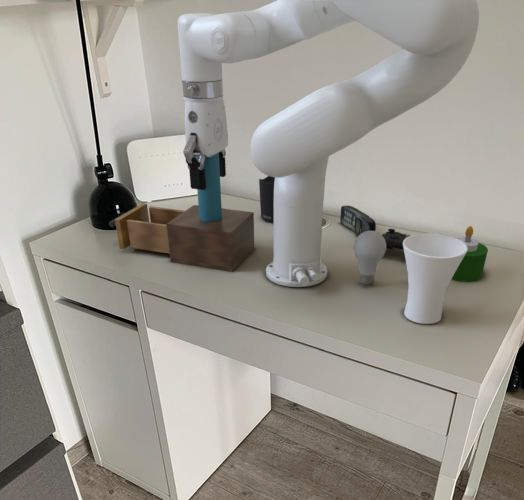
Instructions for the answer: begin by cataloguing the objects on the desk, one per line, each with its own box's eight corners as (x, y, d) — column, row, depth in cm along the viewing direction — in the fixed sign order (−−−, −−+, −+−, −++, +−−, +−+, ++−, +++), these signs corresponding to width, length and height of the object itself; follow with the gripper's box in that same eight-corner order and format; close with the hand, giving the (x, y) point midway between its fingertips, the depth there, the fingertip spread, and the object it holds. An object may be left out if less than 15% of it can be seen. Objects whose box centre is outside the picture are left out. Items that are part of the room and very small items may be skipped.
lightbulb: (364, 274, 112) (369, 223, 106) (387, 285, 108) (394, 232, 102) (344, 283, 109) (348, 231, 103) (367, 294, 105) (373, 240, 99)
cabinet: (170, 261, 119) (166, 223, 114) (196, 240, 128) (193, 204, 124) (232, 271, 114) (230, 232, 109) (254, 249, 124) (253, 212, 119)
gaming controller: (360, 239, 116) (381, 217, 122) (360, 263, 120) (381, 240, 126) (423, 254, 109) (443, 230, 115) (421, 279, 113) (440, 255, 119)
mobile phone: (338, 204, 134) (372, 223, 122) (349, 203, 135) (383, 221, 123) (337, 224, 137) (370, 244, 125) (348, 222, 138) (381, 242, 126)
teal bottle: (223, 220, 115) (219, 141, 106) (201, 222, 114) (195, 142, 105) (219, 213, 119) (215, 135, 110) (197, 215, 118) (191, 137, 109)
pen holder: (256, 212, 144) (256, 174, 138) (291, 210, 145) (292, 172, 139) (263, 225, 136) (262, 185, 130) (299, 222, 137) (301, 183, 132)
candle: (454, 283, 108) (463, 236, 103) (432, 266, 115) (440, 221, 110) (490, 278, 110) (502, 231, 105) (467, 262, 117) (476, 216, 111)
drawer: (104, 246, 124) (99, 217, 120) (132, 228, 133) (128, 201, 129) (172, 257, 118) (169, 227, 115) (196, 238, 127) (194, 209, 123)
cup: (393, 327, 95) (403, 255, 87) (392, 299, 103) (401, 231, 96) (455, 333, 93) (472, 259, 86) (449, 303, 102) (463, 234, 94)
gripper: (200, 98, 95) (206, 197, 104) (239, 84, 108) (242, 172, 118) (162, 96, 97) (172, 193, 107) (205, 83, 111) (210, 169, 120)
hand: (208, 182), depth 112 cm, fingers open, 8 cm apart
